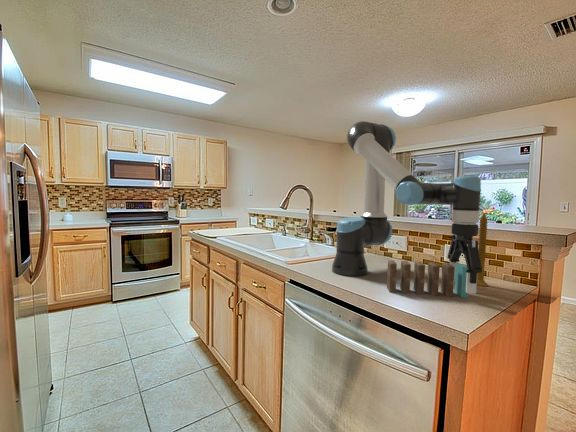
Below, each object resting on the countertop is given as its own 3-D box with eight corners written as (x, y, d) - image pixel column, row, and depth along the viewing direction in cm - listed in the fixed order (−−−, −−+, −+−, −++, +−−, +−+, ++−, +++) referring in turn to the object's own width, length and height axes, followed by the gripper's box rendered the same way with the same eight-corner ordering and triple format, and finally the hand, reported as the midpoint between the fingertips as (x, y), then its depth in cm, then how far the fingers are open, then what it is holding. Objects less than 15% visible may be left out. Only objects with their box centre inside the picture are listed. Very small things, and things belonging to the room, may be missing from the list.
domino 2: (403, 293, 96) (404, 264, 96) (400, 288, 101) (401, 260, 101) (409, 293, 96) (410, 264, 95) (405, 288, 101) (407, 261, 100)
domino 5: (446, 296, 94) (447, 266, 93) (440, 291, 99) (442, 262, 98) (452, 296, 93) (454, 266, 93) (446, 291, 99) (448, 263, 98)
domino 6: (461, 297, 93) (462, 267, 92) (454, 291, 98) (456, 263, 98) (467, 297, 93) (469, 267, 92) (461, 292, 98) (462, 263, 97)
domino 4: (431, 295, 95) (433, 265, 94) (426, 290, 100) (428, 262, 99) (438, 295, 94) (439, 266, 94) (433, 290, 99) (434, 262, 99)
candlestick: (475, 281, 111) (490, 285, 106) (469, 283, 108) (484, 287, 104) (479, 211, 109) (494, 212, 105) (473, 212, 106) (489, 212, 102)
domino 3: (417, 294, 95) (418, 265, 95) (413, 289, 101) (414, 261, 100) (423, 294, 95) (425, 265, 94) (419, 289, 100) (420, 261, 99)
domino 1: (389, 292, 97) (390, 263, 96) (386, 287, 102) (387, 260, 101) (395, 292, 97) (396, 263, 96) (392, 287, 102) (393, 260, 101)
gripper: (498, 227, 81) (493, 300, 82) (461, 220, 105) (458, 276, 107) (469, 226, 82) (465, 298, 84) (439, 220, 107) (436, 275, 108)
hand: (461, 286), depth 95 cm, fingers open, 13 cm apart
